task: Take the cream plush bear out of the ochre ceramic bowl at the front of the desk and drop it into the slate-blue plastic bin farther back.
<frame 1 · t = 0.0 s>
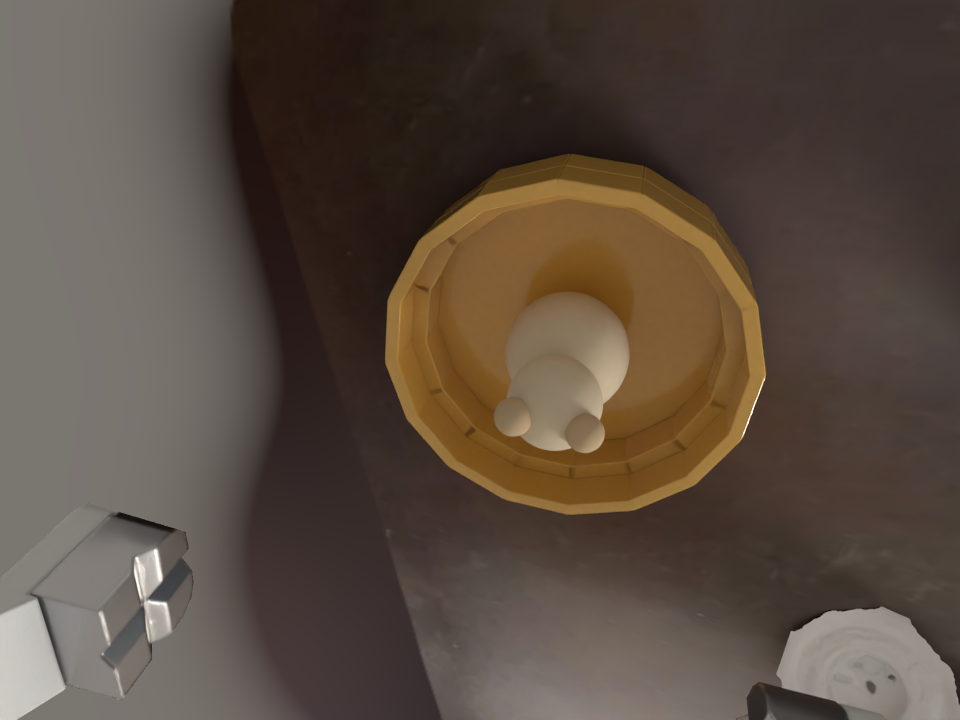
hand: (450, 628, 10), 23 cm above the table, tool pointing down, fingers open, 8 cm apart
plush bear: (573, 326, 32), point 1 cm above the table, touching bowl
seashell: (850, 643, 38), on the table
bowl: (575, 320, 32), on the table
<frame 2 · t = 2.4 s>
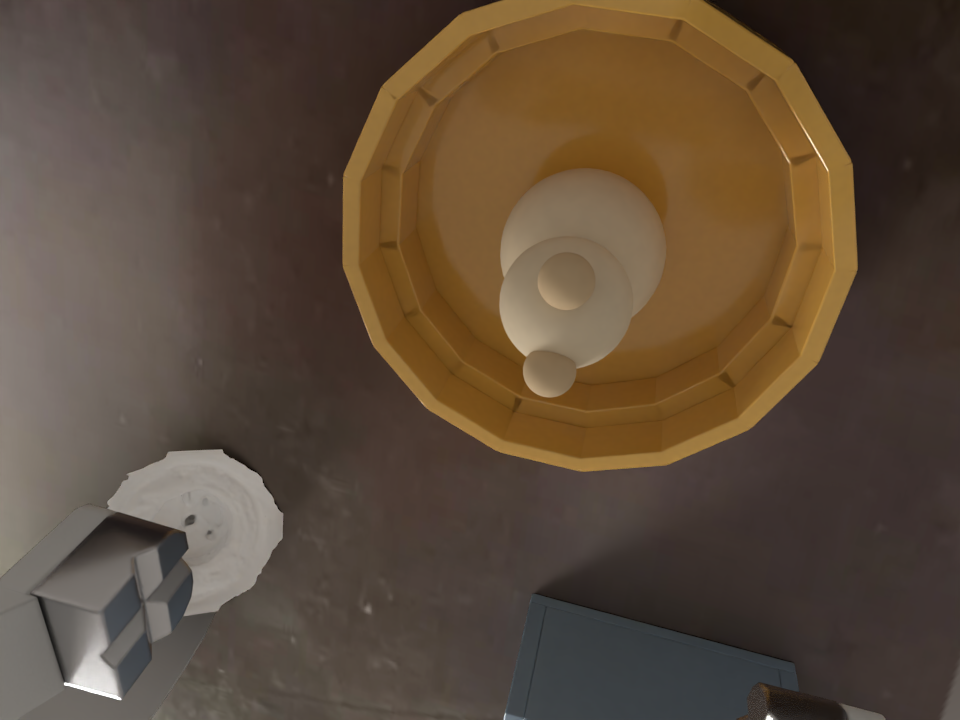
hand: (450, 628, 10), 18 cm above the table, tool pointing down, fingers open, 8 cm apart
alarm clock: (126, 615, 45), on the table
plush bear: (590, 226, 25), point 1 cm above the table, touching bowl
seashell: (225, 490, 37), on the table
bowl: (592, 221, 25), on the table
bin: (629, 710, 37), on the table
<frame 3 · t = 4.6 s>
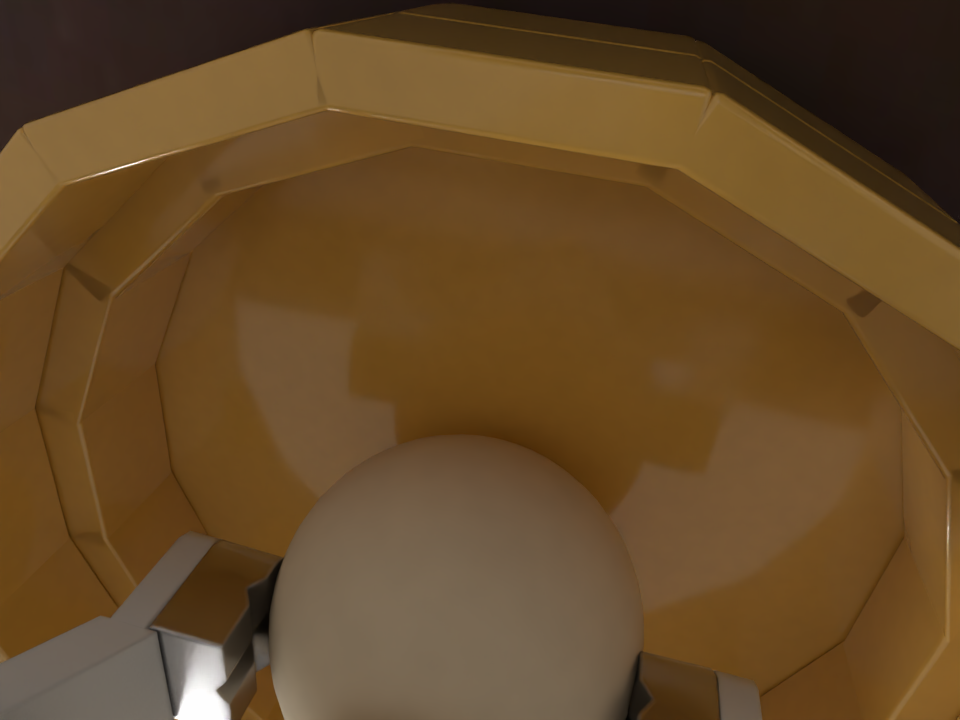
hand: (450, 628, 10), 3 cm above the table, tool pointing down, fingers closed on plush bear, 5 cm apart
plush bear: (495, 498, 12), point 1 cm above the table, touching bowl, gripper
bowl: (499, 476, 13), on the table
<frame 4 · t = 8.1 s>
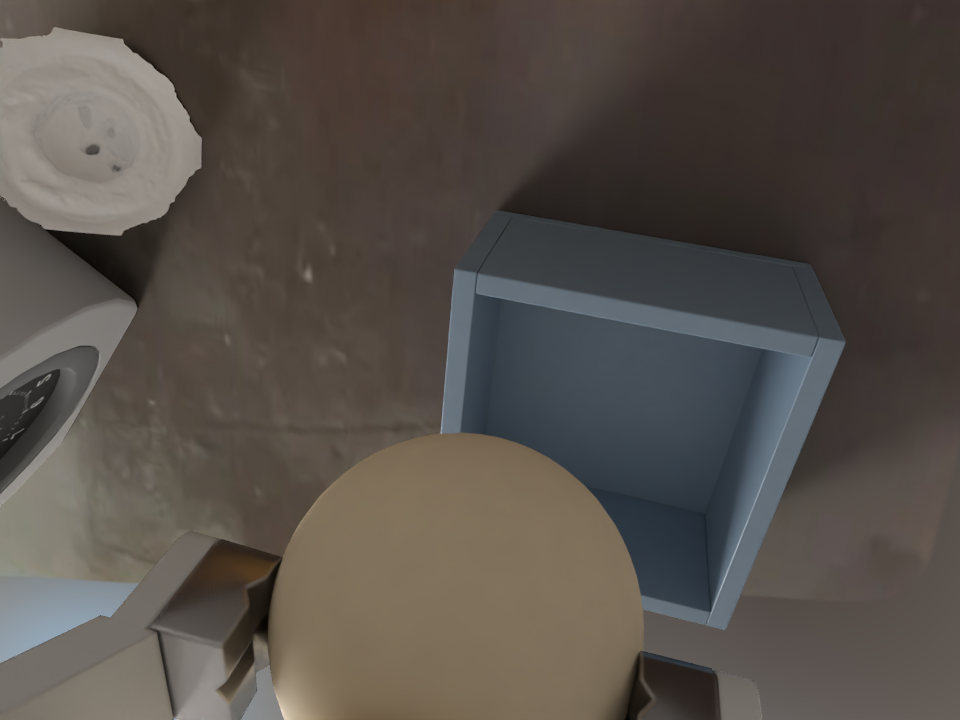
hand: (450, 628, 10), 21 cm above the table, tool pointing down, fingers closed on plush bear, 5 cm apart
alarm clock: (42, 338, 39), on the table
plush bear: (495, 497, 12), point 19 cm above the table, touching gripper
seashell: (134, 118, 31), on the table
bin: (615, 377, 32), on the table
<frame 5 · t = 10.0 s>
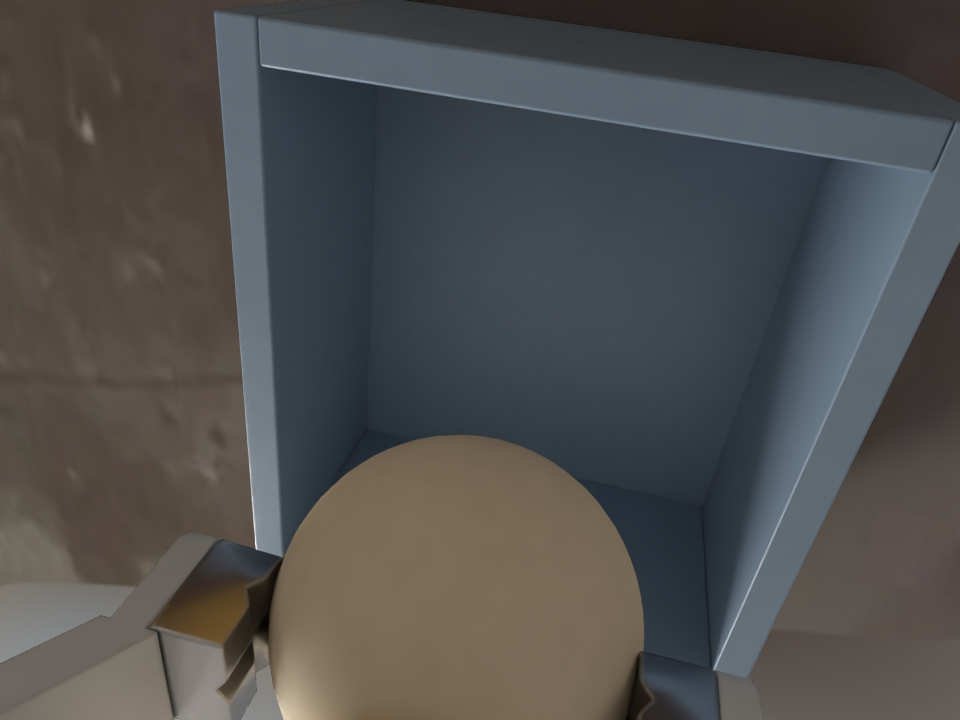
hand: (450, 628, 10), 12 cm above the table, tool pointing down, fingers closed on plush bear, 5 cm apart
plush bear: (495, 499, 12), point 9 cm above the table, touching gripper
bin: (562, 290, 20), on the table
when the fingers open (8 cm above the table, at t = 11.6 s): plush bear drops 5 cm, resting on bin.
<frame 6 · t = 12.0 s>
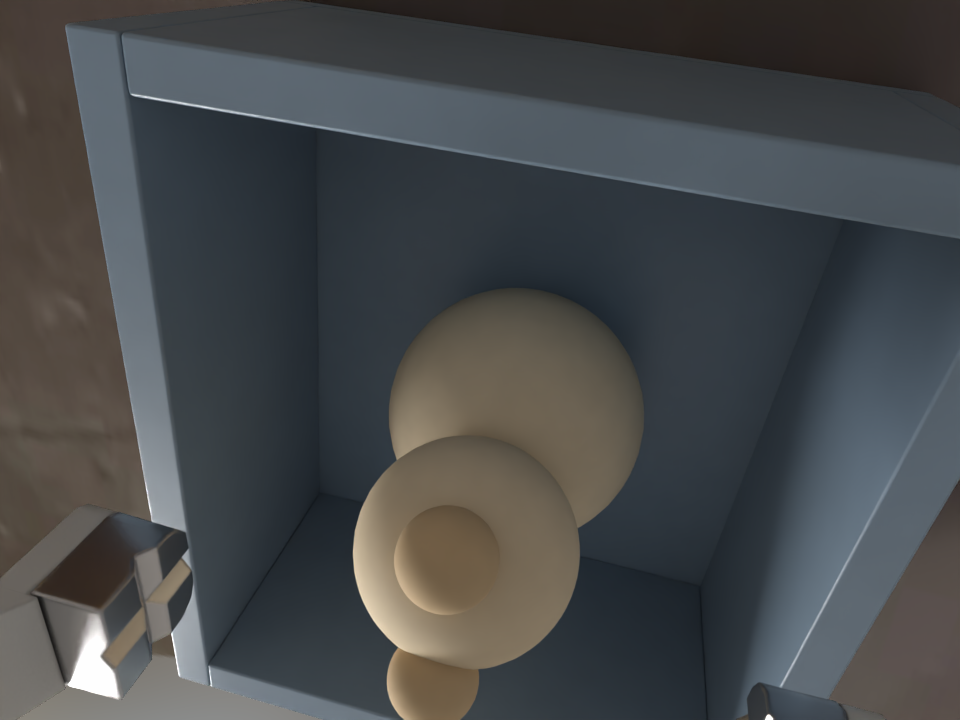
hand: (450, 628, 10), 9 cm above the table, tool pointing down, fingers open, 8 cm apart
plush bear: (537, 353, 17), point 1 cm above the table, touching bin
bin: (538, 342, 17), on the table
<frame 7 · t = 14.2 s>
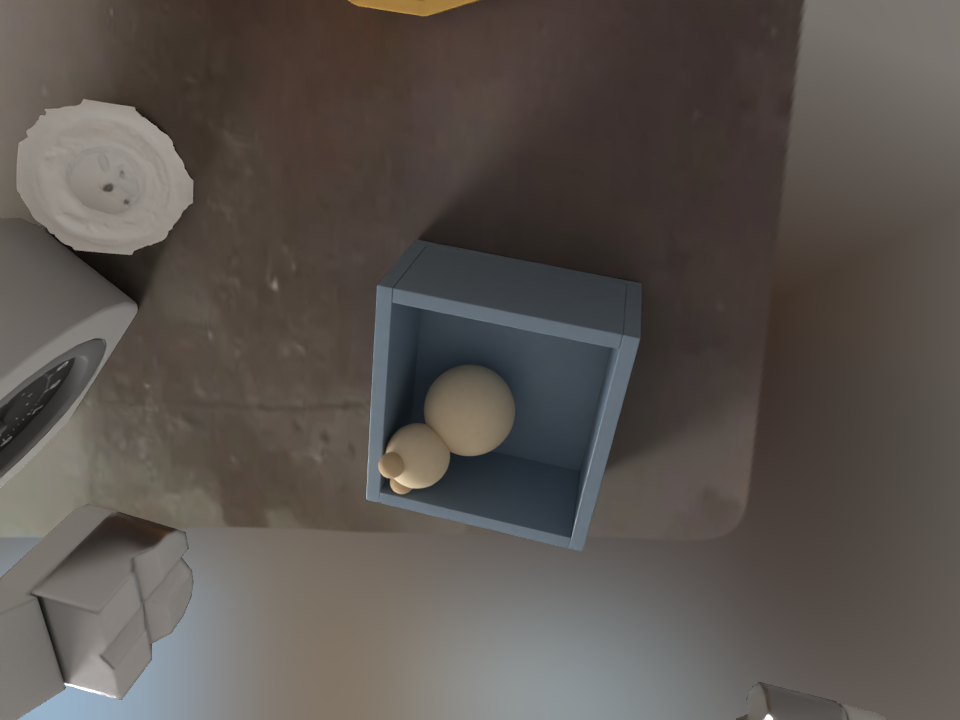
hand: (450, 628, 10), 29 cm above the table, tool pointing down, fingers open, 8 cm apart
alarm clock: (57, 332, 48), on the table
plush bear: (502, 381, 41), point 1 cm above the table, tilted 49°, touching bin
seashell: (140, 164, 41), on the table
bin: (509, 366, 42), on the table
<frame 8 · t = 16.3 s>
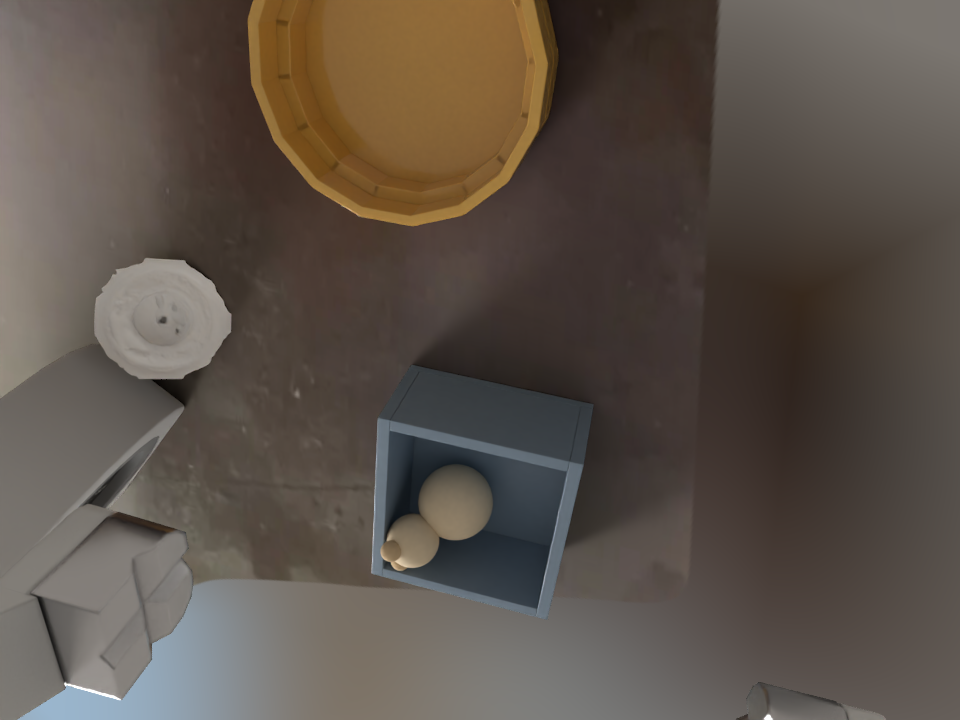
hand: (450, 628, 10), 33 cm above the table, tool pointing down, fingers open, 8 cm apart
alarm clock: (116, 422, 58), on the table
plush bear: (483, 476, 50), point 1 cm above the table, tilted 49°, touching bin
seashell: (188, 299, 50), on the table
bowl: (418, 62, 38), on the table
bin: (489, 462, 51), on the table
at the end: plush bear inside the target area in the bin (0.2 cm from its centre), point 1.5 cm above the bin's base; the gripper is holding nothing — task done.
